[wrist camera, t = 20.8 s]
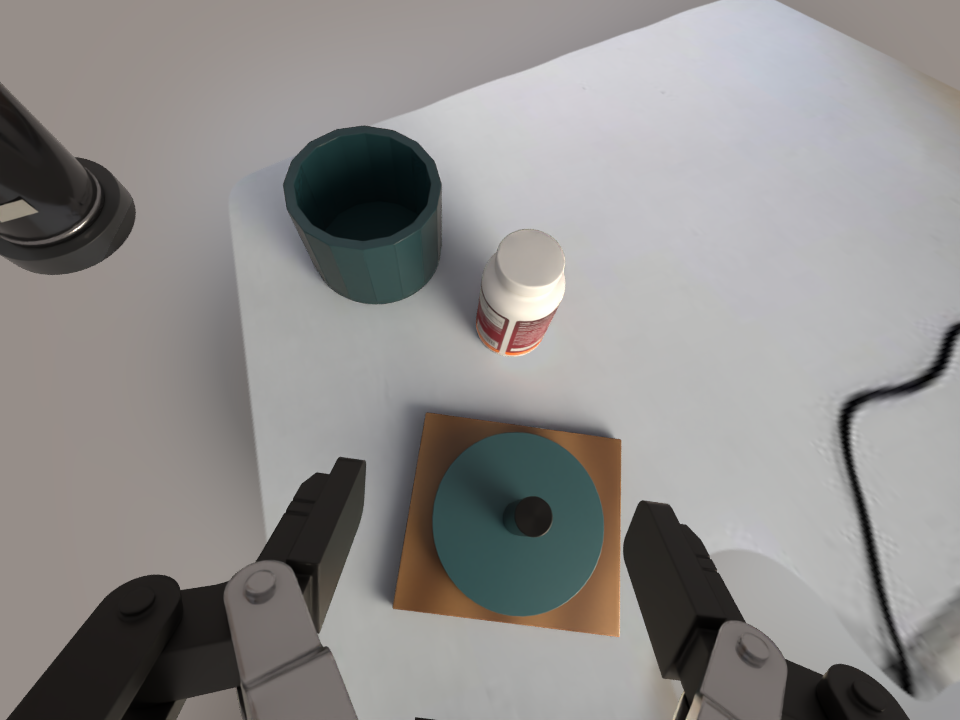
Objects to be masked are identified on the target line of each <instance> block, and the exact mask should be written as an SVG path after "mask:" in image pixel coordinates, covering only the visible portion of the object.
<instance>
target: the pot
mask: <svg viewBox="0 0 960 720" xmlns="http://www.w3.org/2000/svg"><path fill="white" fill-rule="evenodd" d="M283 188H284V194H285V201H286V207H287V211H288V213H289V215H290V217H291V219H292V221H293V223H294V225H295V227H296V229H297V231H298V233H299V235H300V237H301V239H302V241H303V243H304V245H305V247H306V249H307V252H308V254H309V256H310V258H311V260H312V262H313V264H314V266H315V268H316V269H317V271H318V272H319V273H320V275H321V277H322V278H323V280H324V281H325V282H326V283H327V285H328V286H329V287H331V288H332V289H333V290H334V291H335V292H337V293H338V294H340V295H342V296H344V297H346V298H348V299H350V300H353V301H356V302H361V303H366V304H386V303H392V302H396V301H399V300H402V299H404V298H407V297H409V296H411V295H413V294H414V293H416V292H417V291H419V290H420V289H421V288H422V287H423V286H424V285H426V284H427V282H428V281H429V280H430V279H431V278H432V276H433V274H434V273H435V271H436V269H437V266H438V263H439V260H440V252H441V246H442V184H441V181H440V177H439V174H438V171H437V167H436V164H435V162H434V160H433V159H432V158H431V157H430V156H429V155H428V153H427V152H426V151H425V150H424V149H423V148H422V147H421V146H420V145H419V143H417V142H416V141H414V140H412V139H410V138H408V137H406V136H404V135H402V134H400V133H398V132H396V131H394V130H389V129H383V128H376V127H370V126H357V127H351V128H343V129H337V130H334V131H332V132H330V133H328V134H326V135H324V136H321V137H319V138H317V139H315V140H313V141H311V142H309V143H308V144H307V146H305V148H304V149H303V150H301V151H300V152H299V154H298V155H297V156H296V157H295V158H294V159H293V160H292V161H291V164H290V166H289V169H288V172H287V175H286V178H285V181H284V183H283Z"/></svg>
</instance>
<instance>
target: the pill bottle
mask: <svg viewBox="0 0 960 720" xmlns="http://www.w3.org/2000/svg"><path fill="white" fill-rule="evenodd" d="M564 267H565V256H564V253H563V250H562V248H561V246H560V245H559V243H558V242H557V241H556V240H555V239H554V238H552V237H551V236H550V235H548V234H546V233H544V232H542V231H538V230H534V229H522V230H518V231H515V232H512V233H511V234H509V235H508V236H506V237H505V238H504V239H503V240H502V242H501V243H500V245H499V247H498V249H497V252H496V253H495V254H494V255H493V256H492V257H491V258H490V259H489V260H488V262H487V264H486V266H485V268H484V271H483V276H482V281H481V289H480V296H479V303H478V310H477V316H476V328H477V332H478V335H479V337H480V339H481V341H482V342H483V343H484V345H485V346H486V347H487V348H488V349H490V350H491V351H493V352H495V353H497V354H499V355H502V356H508V357H515V356H521V355H524V354H527V353H529V352H531V351H532V350H533V349H535V348H536V347H537V346H538V344H539V343H540V342H541V340H542V338H543V336H544V334H545V332H546V330H547V328H548V326H549V324H550V322H551V320H552V318H553V316H554V314H555V312H556V310H557V308H558V306H559V304H560V302H561V300H562V297H563V295H564V291H565V277H564V273H563V271H564Z"/></svg>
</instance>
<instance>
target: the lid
mask: <svg viewBox="0 0 960 720" xmlns="http://www.w3.org/2000/svg"><path fill="white" fill-rule="evenodd" d="M432 529H433V537H434V543H435V547H436V550H437V553H438V556H439V559H440V561H441V563H442V566H443V568H444V569H445V571H446V573H447V574H448V576H449V578H450V579H451V580H452V581H453V583H454V584H455V585H456V587H457V588H458V589H459V590H460V591H461V592H462V593H463V594H465V595H466V596H467V597H468V598H469V599H471V600H472V601H474V602H475V603H476V604H478V605H480V606H482V607H484V608H486V609H487V610H490V611H493V612H496V613H499V614H503V615H508V616H520V617H524V616H534V615H538V614H542V613H546V612H549V611H551V610H553V609H556V608H558V607H559V606H561V605H563V604H564V603H566V602H568V601H569V600H570V599H571V598H572V597H574V596H575V595H576V594H577V593H578V592H579V591H580V590H581V589H582V587H583V586H584V585H585V584H586V582H587V581H588V579H589V578H590V577H591V575H592V573H593V571H594V569H595V567H596V565H597V562H598V559H599V557H600V554H601V549H602V544H603V537H604V516H603V510H602V505H601V501H600V498H599V494H598V492H597V489H596V487H595V485H594V483H593V481H592V479H591V477H590V475H589V474H588V472H587V471H586V470H585V468H584V467H583V465H582V464H581V463H580V462H579V461H578V460H577V459H576V458H575V457H574V456H573V455H572V454H571V453H570V452H569V451H567V450H566V449H565V448H563V447H562V446H560V445H559V444H557V443H555V442H553V441H551V440H549V439H547V438H544V437H542V436H539V435H535V434H530V433H523V432H507V433H501V434H496V435H493V436H490V437H487V438H484V439H482V440H480V441H478V442H476V443H474V444H473V445H471V446H470V447H468V448H467V449H466V450H465V451H463V452H462V453H461V454H460V455H459V456H458V457H457V458H456V459H455V460H454V461H453V463H452V464H451V465H450V467H449V468H448V470H447V471H446V473H445V474H444V476H443V478H442V480H441V482H440V484H439V487H438V490H437V493H436V496H435V501H434V505H433V515H432Z"/></svg>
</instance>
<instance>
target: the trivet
mask: <svg viewBox="0 0 960 720" xmlns="http://www.w3.org/2000/svg"><path fill="white" fill-rule="evenodd" d="M507 432H523V433H530V434H535V435H539V436H542V437H544V438H547V439H549V440H551V441H553V442H555V443H557V444H559V445H560V446H562V447H563V448H565V449H566V450H567V451H569V452H570V453H571V454H572V455H573V456H574V457H575V458H576V459H577V460H578V461H579V462H580V463H581V464H582V465H583V467H584V468H585V470H586V471H587V472H588V474H589V475H590V477H591V479H592V481H593V483H594V485H595V487H596V489H597V492H598V494H599V498H600V501H601V505H602V510H603V516H604V537H603V544H602V549H601V554H600V557H599V559H598V562H597V565H596V567H595V569H594V571H593V573H592V575H591V577H590V578H589V579H588V581H587V582H586V584H585V585H584V586H583V587H582V589H581V590H580V591H579V592H578V593H577V594H576V595H575V596H574V597H572V598H571V599H570V600H569V601H568V602H566V603H564V604H563V605H561V606H559V607H558V608H556V609H553V610H551V611H549V612H546V613H542V614H538V615H534V616H524V617H520V616H508V615H503V614H499V613H496V612H493V611H490V610H487V609H486V608H484V607H482V606H480V605H478V604H476V603H475V602H474V601H472V600H471V599H469V598H468V597H467V596H466V595H465V594H463V593H462V592H461V591H460V590H459V589H458V588H457V587H456V585H455V584H454V583H453V581H452V580H451V579H450V578H449V576H448V574H447V573H446V571H445V569H444V568H443V566H442V563H441V561H440V559H439V556H438V553H437V550H436V547H435V543H434V537H433V529H432V515H433V505H434V501H435V496H436V493H437V490H438V487H439V484H440V482H441V480H442V478H443V476H444V474H445V473H446V471H447V470H448V468H449V467H450V465H451V464H452V463H453V461H454V460H455V459H456V458H457V457H458V456H459V455H460V454H461V453H462V452H463V451H465V450H466V449H467V448H468V447H470V446H471V445H473V444H474V443H476V442H478V441H480V440H482V439H484V438H487V437H490V436H493V435H496V434H501V433H507ZM620 517H621V440H620V439H614V438H607V437H600V436H593V435H585V434H578V433H571V432H564V431H557V430H550V429H542V428H535V427H528V426H521V425H514V424H507V423H499V422H492V421H485V420H478V419H471V418H464V417H456V416H449V415H442V414H435V413H428V412H427V413H426V414H425V420H424V426H423V432H422V438H421V444H420V450H419V455H418V461H417V467H416V473H415V479H414V485H413V490H412V496H411V502H410V508H409V514H408V520H407V526H406V531H405V537H404V543H403V549H402V555H401V561H400V567H399V572H398V578H397V584H396V590H395V596H394V602H393V609H400V610H408V611H415V612H423V613H431V614H439V615H447V616H455V617H463V618H471V619H479V620H487V621H495V622H503V623H511V624H519V625H527V626H535V627H543V628H551V629H559V630H567V631H575V632H583V633H591V634H599V635H607V636H615V637H619V630H620Z"/></svg>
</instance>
